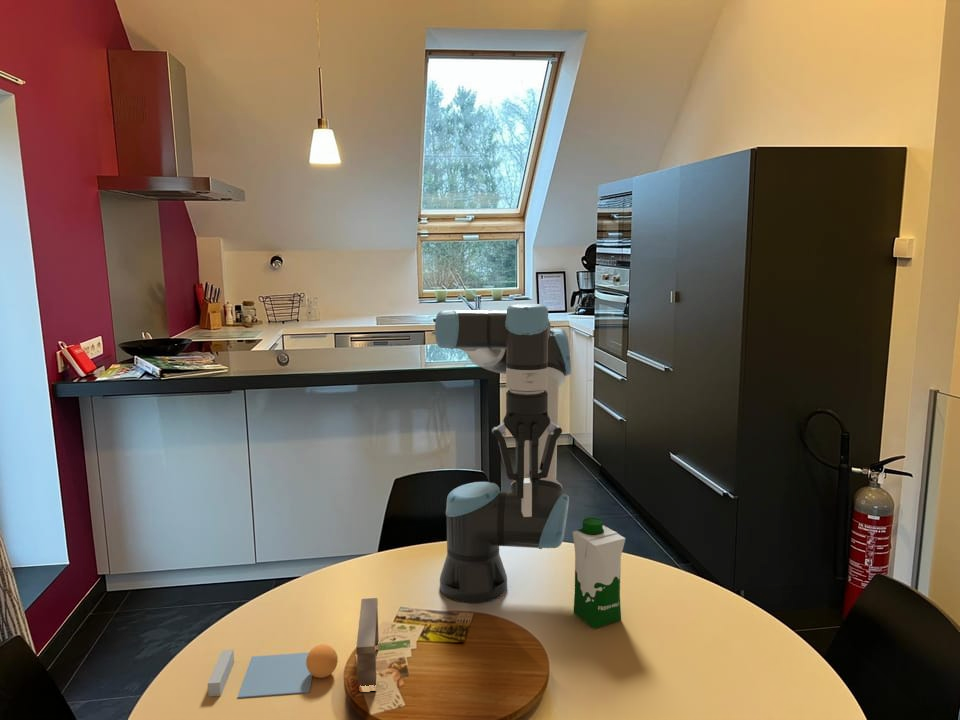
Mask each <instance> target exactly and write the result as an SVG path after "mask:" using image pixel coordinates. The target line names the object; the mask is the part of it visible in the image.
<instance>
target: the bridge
mask: <svg viewBox="0 0 960 720" xmlns="http://www.w3.org/2000/svg"><path fill="white" fill-rule="evenodd" d="M378 600H379V599H378V597H373V598H371V597H370V598H361V601H360V609H359V619H358V620H359V622H358V629H357V636H356V637H357V639H356V645H355V647H356V659H357V661H356V662H357V683H358V686H360V685H361V686H365V685H366V686H369V685H374V686H375V685H376V679H377V656H376V652H377V651H375V646H377V645H378V642H379V641H380V640H379V616H378V615H379V613H378V604H379V602H378ZM379 643H380V642H379Z"/></svg>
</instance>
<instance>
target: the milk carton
mask: <svg viewBox="0 0 960 720" xmlns="http://www.w3.org/2000/svg"><path fill="white" fill-rule="evenodd" d="M572 537H573V538H572V539H573V545H574V559H575V560H574V596H573V597H574V599H573V614H574V615H576V616H577V617H578V618H579V619H581V620H582V621H583V622H584V623H586V624H587V625H588V626H590V627H591V628H592V629H598V628H600V627H604V626H607V625H611V624H613V623H616V622H620V621H622V610H621V609H622V608H621V568H622V567H621V563H622V561H621V560H622V554H623V550H624V546H625V543H626V537H624V536H622V535H621V534H619V533H618V532H617V531H614V530H613V529H611V528H609V527H608V526H605V525H603V520H602V519H601V518H596V517H586V518H584V519H583V520H582V528H581V529H577V530H574V531H573V530H572Z"/></svg>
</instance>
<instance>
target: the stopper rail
mask: <svg viewBox="0 0 960 720" xmlns="http://www.w3.org/2000/svg"><path fill="white" fill-rule="evenodd" d="M234 663H235V655H234V648H233V649H222V650H221V652H220V654H219V657H218V659H217V661H216V664H215V666H214V668H213V670H212V672H211V675H210V677H209V679H208V681H207V690H208V694H207V695H208V697H209V698H211V697H220V696H222V694H223V692H224V689H225V686H226V683H227V681H228V679H229V676H230V673H231V671H232V669H233V665H234Z"/></svg>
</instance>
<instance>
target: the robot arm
mask: <svg viewBox="0 0 960 720" xmlns="http://www.w3.org/2000/svg"><path fill="white" fill-rule="evenodd" d="M434 336H435V337H434V338H435V343H436V344H437V347H439V348H441V349H449V350H453V349H454V350H456V349H457V350H459V349H460V350H461V351H463V352H464V353H466V355H467V357H468V359H469V360H470V361H471V362H472V363H473V364H474V365H475V366H477V367H480V368H482V369H485V370H487V371H490V372H494V373H497V374H503V375H504V374H505V375H506V376H505V387H506V388H507V391H506V393H505V394H506V395H505V401H506V402H505V408H506V409H505V410H506V411H505V412H506V413H505V416H504V418H503V421H502V423H500V424H499V425H497V426H493V427H492V428H491V433H492V435H493V436H494V437H495V439H496V440H497V443H498V447H499V451H500V455H501V459H502V462H503V463H502V464H503V466H504V471H505V474H506V476H507V478H508V479H509V480H510V481H511V480H513V481H512V482H511V484H510V490H509V491H506V492H505V491H501V489H500V487H499V485H498V484H497V483H495V482H489V481H473V482H470V483H465V484H461V485H459V486H457V487H456V488H453V489H452V490H451V491H450V492H449V493H448V495H447V498H446V509H445V516H446V550H447V551H446V557H445V560H444V563H443V567H442V569H441V572H440V576H439V589H440V592H441V593H442V595H444V596H445V597H447V598H448V599H450V600H452V601H456V602H460V603H468V604H477V603H486V602H490V601H493V600H496V599H499V598H500V597H502V596H503V594H505V593H506V591H507V588H508V576H507V572H506V570H505V567H504V564H503V560H502V558H501V555H500V547H513V548H529V549H530V548H533V549H538V550H542V549H556V548H559V547H560V546H561V545H562V543H563V542H564V539H565V533H566V532H565V531H566V525H567V520H568V519H567V518H568V512H569V504H570V503H569V502H570V496H569V495H568V494H566V493H563V489H564V488H563V485H562V484H561V483H560V482H559V481H558V480H557V464H558V462H557V456H558V454H557V451H558V450H557V449H558V439H559V438H560V436H561V435H562V433H563V429H562V428H561V426H560V425H559V424H558V420H559V419H558V417H559V416H558V415H559V411H558V410H559V387H561V386H562V385H563V384H564V383H565V382H566V377H567V376H570V375H572V363H571V362H572V360H571V353H570V352H571V351H570V344H569V336H568V334H567V332H566V330H565V329H564V328H559V327H558V328H557V327H551V322H550V319H549V310H548V307H547V306H546V305H544V304H539V303H516V304H511V305H509V306H508V307H507V309H506V310H502V309H501V310H500V309H499V310H496V309H495V310H475V309H474V310H471V309H469V310H468V309H467V310H465V309H464V310H462V309H459V310H458V309H455V308H454V309H451V310H450V309H449V310H440V311H439V312H438V313H437V314H436V316H435V322H434ZM506 430H508V432H509V433H510V434H511V436H512V437H513V438H514V442H515V471H514V470H513V465H512V462H511V457H510V454H509V450H508V445H507V442H506V439H505V437H506V436H507V432H506Z"/></svg>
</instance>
